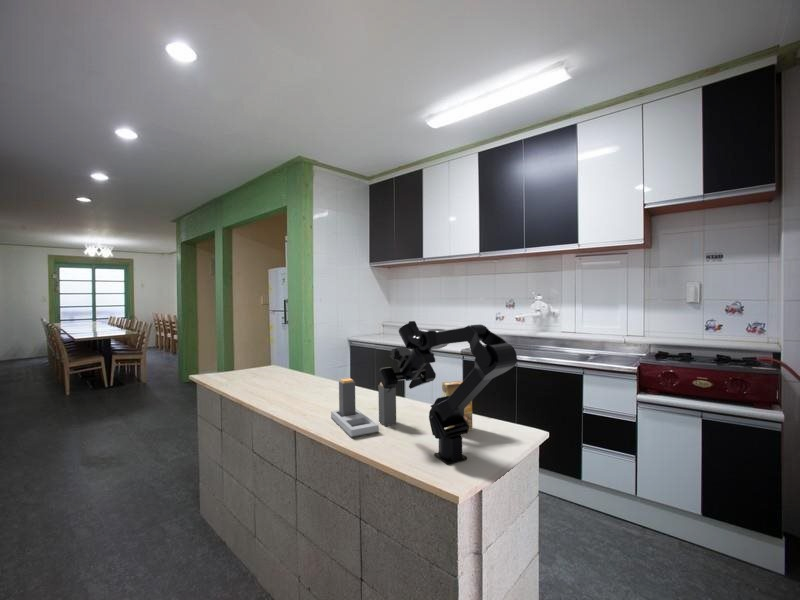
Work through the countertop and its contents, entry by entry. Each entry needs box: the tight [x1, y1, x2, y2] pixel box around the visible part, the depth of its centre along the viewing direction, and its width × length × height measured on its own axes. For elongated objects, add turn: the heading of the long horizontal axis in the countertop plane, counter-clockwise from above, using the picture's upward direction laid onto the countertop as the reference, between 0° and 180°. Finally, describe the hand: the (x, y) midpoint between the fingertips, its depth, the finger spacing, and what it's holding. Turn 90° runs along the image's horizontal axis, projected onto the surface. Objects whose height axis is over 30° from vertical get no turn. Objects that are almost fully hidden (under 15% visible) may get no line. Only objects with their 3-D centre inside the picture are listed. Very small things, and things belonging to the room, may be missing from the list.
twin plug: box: [338, 377, 357, 417], centre depth 127 cm, size 4×4×14 cm
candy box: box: [441, 380, 474, 431], centre depth 116 cm, size 9×4×15 cm, turn 107°
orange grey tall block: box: [377, 381, 397, 427], centre depth 123 cm, size 4×4×14 cm
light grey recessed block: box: [330, 408, 379, 439], centre depth 122 cm, size 22×9×2 cm, turn 27°
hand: (398, 389), depth 117 cm, fingers open, 9 cm apart
